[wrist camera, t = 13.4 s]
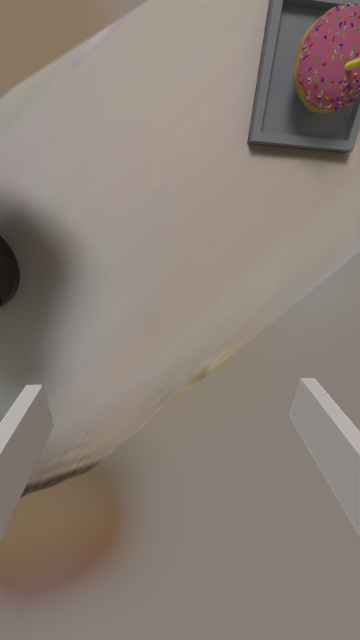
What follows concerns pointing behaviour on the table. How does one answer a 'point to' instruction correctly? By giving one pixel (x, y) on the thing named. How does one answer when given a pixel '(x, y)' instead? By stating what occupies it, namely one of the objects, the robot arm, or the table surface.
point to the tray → (279, 91)
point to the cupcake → (329, 61)
